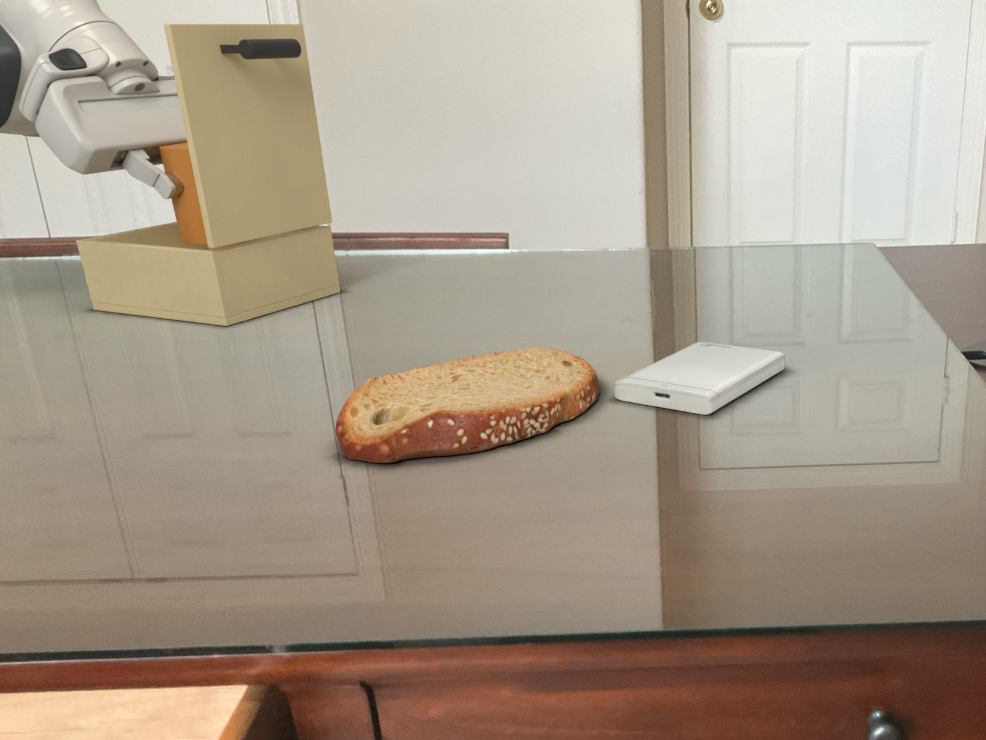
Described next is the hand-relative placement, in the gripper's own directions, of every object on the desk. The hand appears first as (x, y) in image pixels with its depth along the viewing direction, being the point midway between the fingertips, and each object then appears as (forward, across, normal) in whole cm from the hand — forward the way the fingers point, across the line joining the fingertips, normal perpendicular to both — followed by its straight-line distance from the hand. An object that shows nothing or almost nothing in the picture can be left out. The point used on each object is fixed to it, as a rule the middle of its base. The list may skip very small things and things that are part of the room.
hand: (204, 189), depth 106 cm
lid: (+2, 0, +9) cm, 10 cm away
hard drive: (+48, +8, +33) cm, 59 cm away
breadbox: (+7, 0, -8) cm, 11 cm away
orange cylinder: (+3, 0, -4) cm, 5 cm away
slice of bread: (+40, +21, +24) cm, 51 cm away
